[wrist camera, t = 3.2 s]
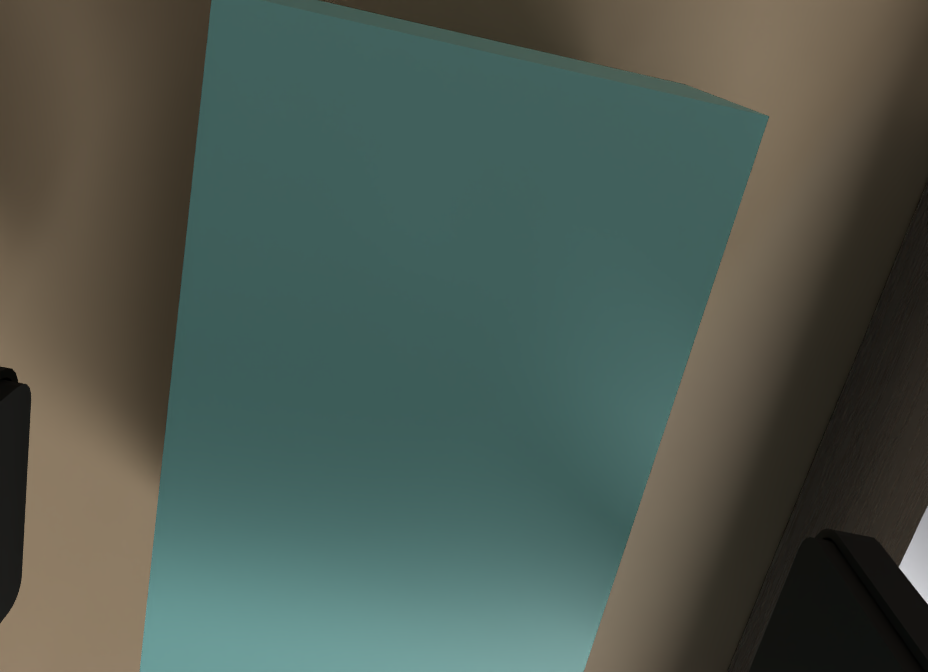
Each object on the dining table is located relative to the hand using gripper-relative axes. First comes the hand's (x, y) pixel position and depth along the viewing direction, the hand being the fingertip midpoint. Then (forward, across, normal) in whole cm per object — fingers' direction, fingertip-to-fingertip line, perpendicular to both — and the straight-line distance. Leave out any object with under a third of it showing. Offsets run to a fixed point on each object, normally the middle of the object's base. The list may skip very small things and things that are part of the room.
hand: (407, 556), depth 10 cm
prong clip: (+4, 0, 0) cm, 4 cm away
